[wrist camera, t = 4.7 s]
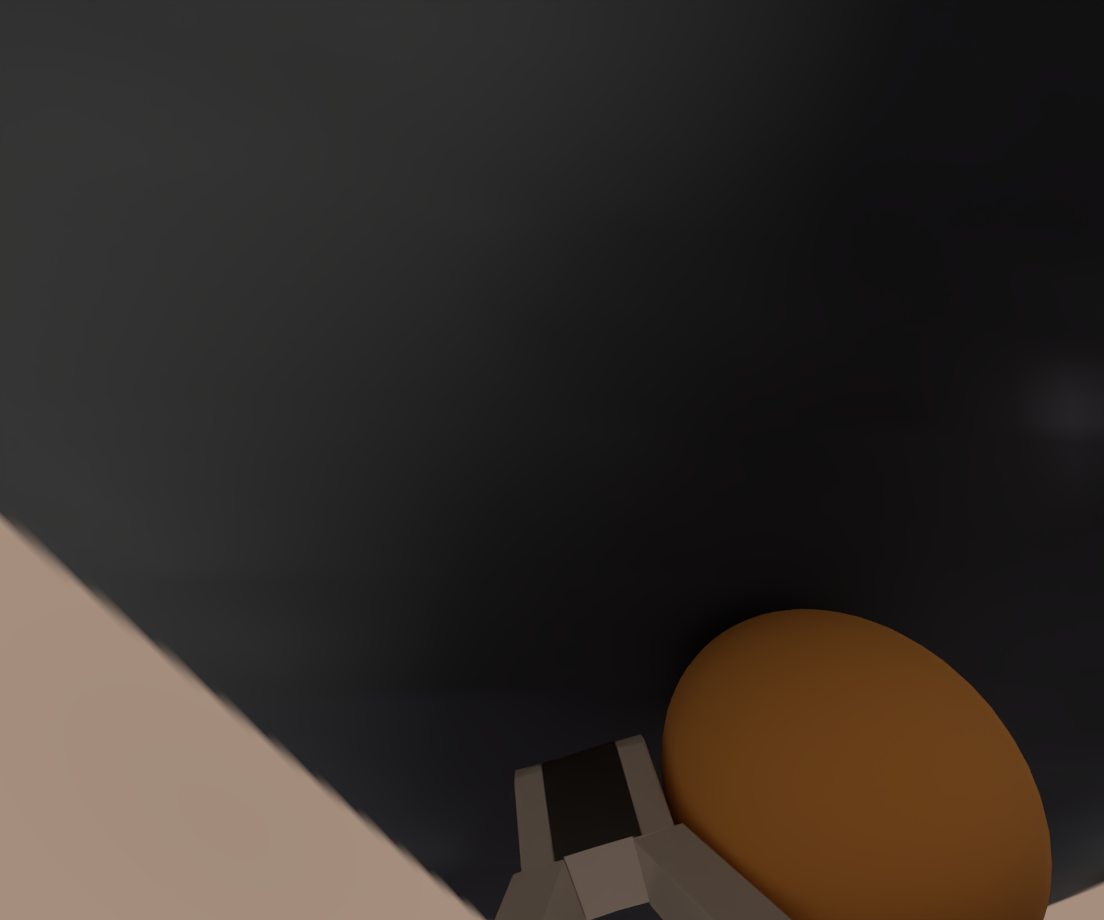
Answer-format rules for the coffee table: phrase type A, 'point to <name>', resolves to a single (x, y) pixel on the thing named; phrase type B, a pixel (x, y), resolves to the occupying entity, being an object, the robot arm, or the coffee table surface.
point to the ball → (853, 775)
